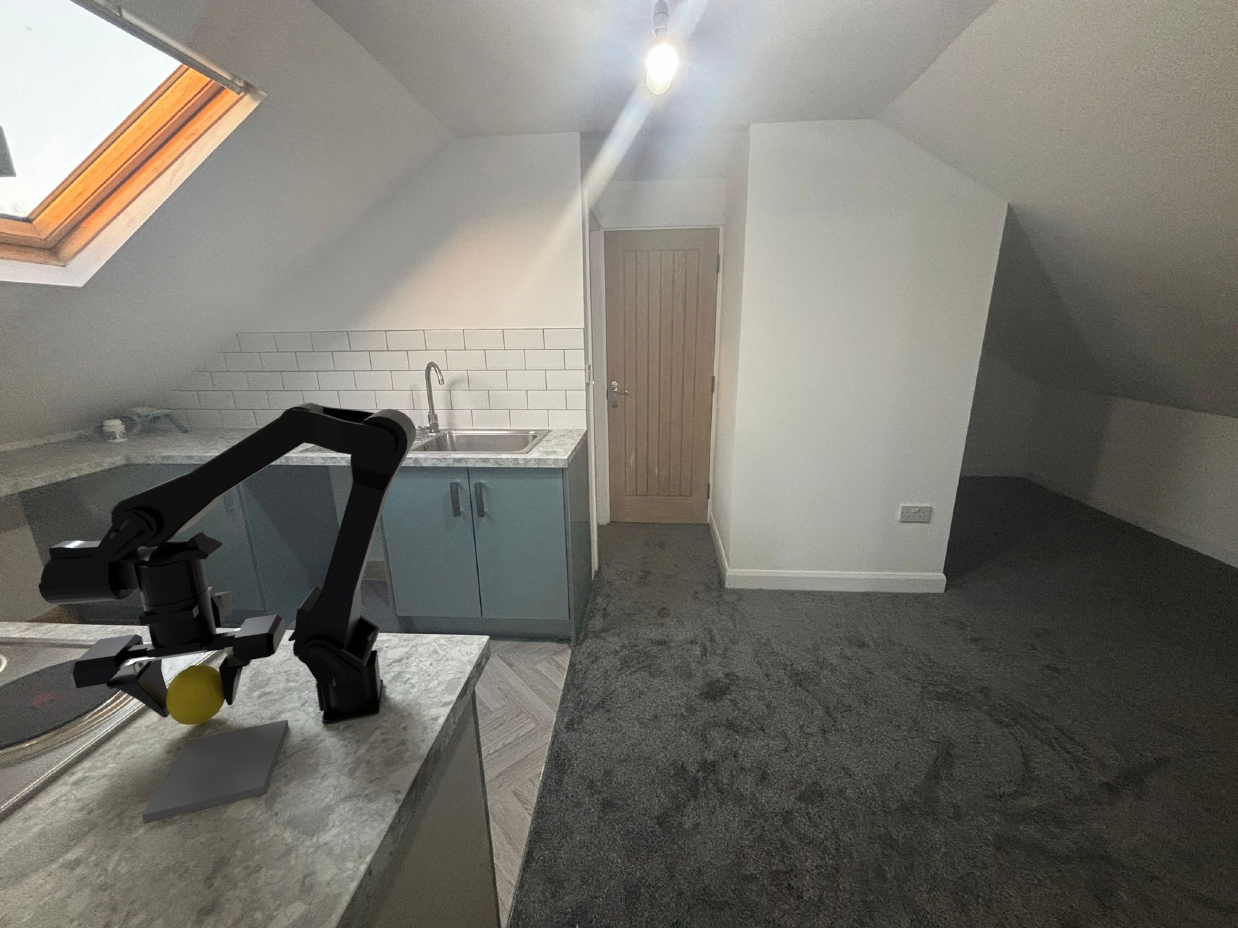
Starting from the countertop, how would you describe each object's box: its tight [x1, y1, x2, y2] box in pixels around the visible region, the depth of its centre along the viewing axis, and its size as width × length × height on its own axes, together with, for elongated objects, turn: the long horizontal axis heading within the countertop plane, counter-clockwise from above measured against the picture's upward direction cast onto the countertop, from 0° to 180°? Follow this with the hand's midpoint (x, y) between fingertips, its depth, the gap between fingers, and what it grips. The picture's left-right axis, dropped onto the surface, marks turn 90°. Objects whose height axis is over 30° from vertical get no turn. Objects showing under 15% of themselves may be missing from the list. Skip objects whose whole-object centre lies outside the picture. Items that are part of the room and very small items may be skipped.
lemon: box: [166, 664, 226, 726], centre depth 61 cm, size 6×6×8 cm
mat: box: [142, 719, 289, 824], centre depth 55 cm, size 10×10×1 cm
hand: (200, 708), depth 62 cm, fingers open, 6 cm apart
